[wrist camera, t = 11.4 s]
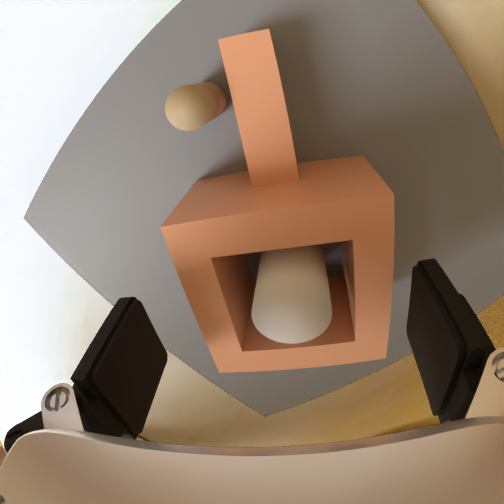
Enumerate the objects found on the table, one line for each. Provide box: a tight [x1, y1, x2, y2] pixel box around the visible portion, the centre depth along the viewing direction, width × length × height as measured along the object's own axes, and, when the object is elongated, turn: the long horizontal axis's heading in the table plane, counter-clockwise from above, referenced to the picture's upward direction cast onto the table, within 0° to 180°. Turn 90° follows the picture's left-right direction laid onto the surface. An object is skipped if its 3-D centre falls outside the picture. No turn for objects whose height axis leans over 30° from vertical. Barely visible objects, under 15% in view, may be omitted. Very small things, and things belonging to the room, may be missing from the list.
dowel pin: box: [165, 82, 227, 131], centre depth 10 cm, size 1×1×2 cm
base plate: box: [24, 0, 504, 416], centre depth 12 cm, size 20×20×6 cm
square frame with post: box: [160, 29, 395, 373], centre depth 10 cm, size 11×6×4 cm, turn 12°
